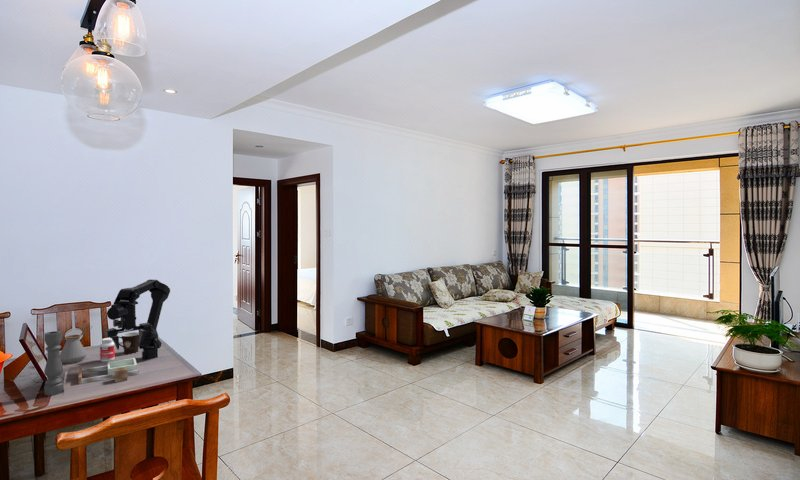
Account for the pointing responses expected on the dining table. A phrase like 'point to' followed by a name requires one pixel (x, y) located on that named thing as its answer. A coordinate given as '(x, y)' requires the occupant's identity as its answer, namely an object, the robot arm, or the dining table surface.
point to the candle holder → (53, 364)
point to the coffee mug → (130, 342)
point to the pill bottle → (107, 350)
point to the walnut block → (121, 374)
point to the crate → (122, 365)
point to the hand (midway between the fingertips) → (129, 347)
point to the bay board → (99, 378)
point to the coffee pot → (73, 349)
